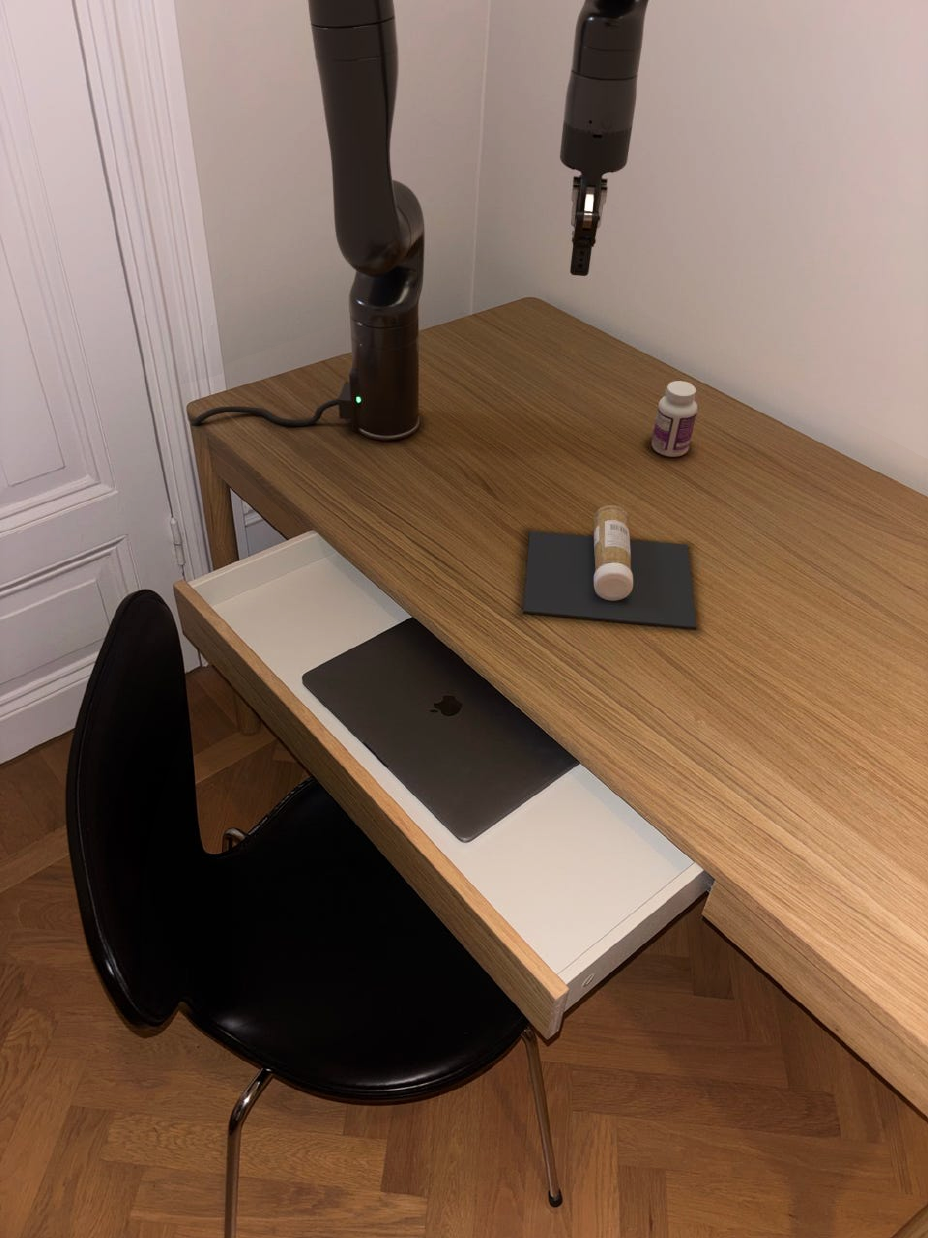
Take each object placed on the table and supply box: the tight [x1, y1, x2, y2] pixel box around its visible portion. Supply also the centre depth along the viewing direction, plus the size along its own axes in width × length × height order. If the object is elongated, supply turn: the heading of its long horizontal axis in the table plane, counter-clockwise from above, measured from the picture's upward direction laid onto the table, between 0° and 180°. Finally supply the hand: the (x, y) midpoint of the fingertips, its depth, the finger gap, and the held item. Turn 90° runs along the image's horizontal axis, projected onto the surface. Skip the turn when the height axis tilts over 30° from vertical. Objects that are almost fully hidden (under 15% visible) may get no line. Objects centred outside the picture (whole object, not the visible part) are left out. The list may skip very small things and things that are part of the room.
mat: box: [522, 530, 697, 630], centre depth 115 cm, size 20×15×1 cm
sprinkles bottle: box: [592, 504, 633, 601], centre depth 115 cm, size 5×5×14 cm
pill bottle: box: [651, 380, 698, 458], centre depth 133 cm, size 5×5×10 cm
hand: (579, 272), depth 115 cm, fingers closed
